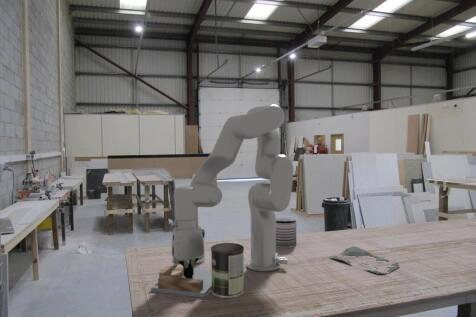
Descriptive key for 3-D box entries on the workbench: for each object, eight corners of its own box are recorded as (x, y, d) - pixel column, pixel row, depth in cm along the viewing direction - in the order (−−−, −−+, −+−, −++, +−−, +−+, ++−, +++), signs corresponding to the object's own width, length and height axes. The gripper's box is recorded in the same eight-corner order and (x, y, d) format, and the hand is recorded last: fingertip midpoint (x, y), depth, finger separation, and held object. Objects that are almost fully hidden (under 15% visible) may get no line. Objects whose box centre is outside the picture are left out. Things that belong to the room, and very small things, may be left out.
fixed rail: (203, 289, 113) (203, 279, 113) (199, 292, 110) (199, 283, 110) (162, 284, 117) (162, 275, 117) (158, 288, 114) (158, 278, 114)
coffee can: (211, 299, 109) (211, 252, 108) (211, 285, 119) (210, 243, 118) (245, 297, 110) (245, 251, 109) (242, 284, 120) (242, 242, 119)
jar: (189, 265, 139) (188, 234, 139) (180, 259, 146) (179, 230, 146) (209, 261, 144) (209, 231, 144) (200, 255, 151) (199, 227, 151)
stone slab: (407, 271, 136) (407, 265, 135) (380, 281, 127) (380, 275, 127) (354, 251, 156) (354, 245, 156) (328, 258, 147) (328, 253, 147)
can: (268, 246, 165) (268, 220, 164) (275, 240, 175) (275, 215, 175) (293, 248, 160) (293, 221, 160) (299, 242, 171) (299, 217, 170)
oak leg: (178, 271, 129) (178, 263, 129) (186, 271, 129) (186, 263, 129) (170, 284, 117) (170, 275, 117) (179, 284, 117) (179, 275, 117)
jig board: (224, 274, 129) (224, 262, 129) (204, 297, 110) (204, 283, 110) (178, 270, 134) (178, 258, 134) (151, 291, 115) (150, 278, 115)
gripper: (168, 229, 113) (170, 287, 114) (212, 222, 120) (213, 277, 121) (161, 224, 120) (163, 279, 121) (203, 218, 127) (204, 270, 128)
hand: (188, 278), depth 121 cm, fingers closed
